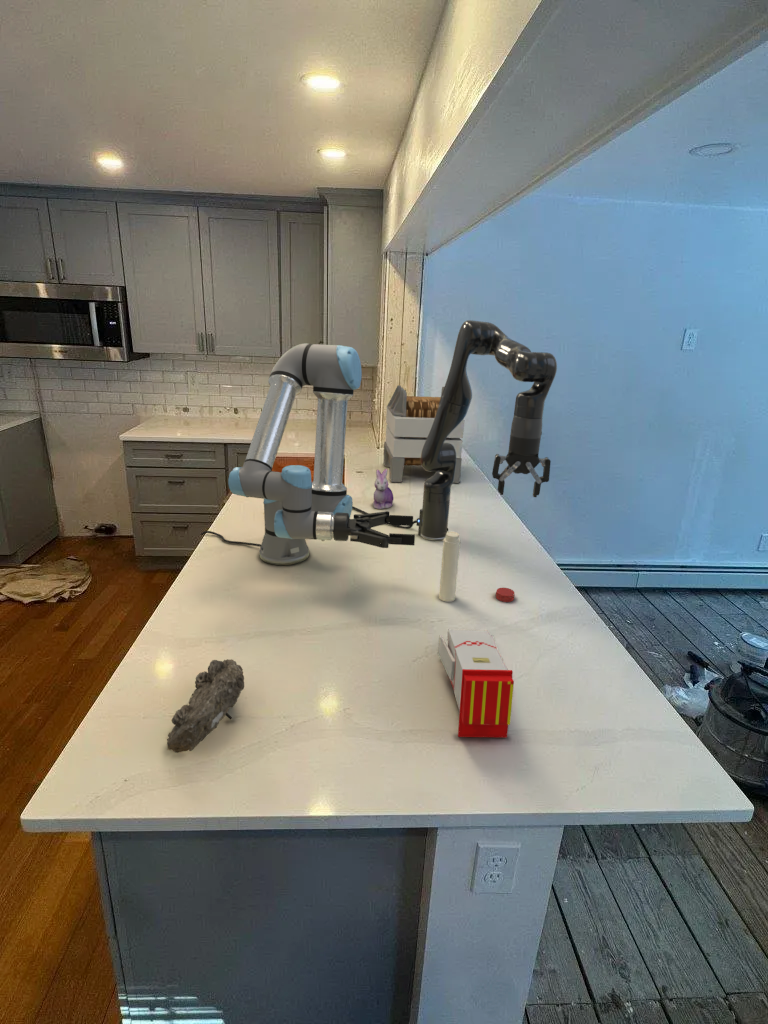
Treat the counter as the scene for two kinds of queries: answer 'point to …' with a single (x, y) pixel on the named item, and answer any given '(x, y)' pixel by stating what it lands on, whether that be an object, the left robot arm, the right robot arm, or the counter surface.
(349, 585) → the counter surface
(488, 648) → the toy
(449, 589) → the jar
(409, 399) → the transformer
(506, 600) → the lid
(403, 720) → the counter surface
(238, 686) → the fossil
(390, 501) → the figurine
